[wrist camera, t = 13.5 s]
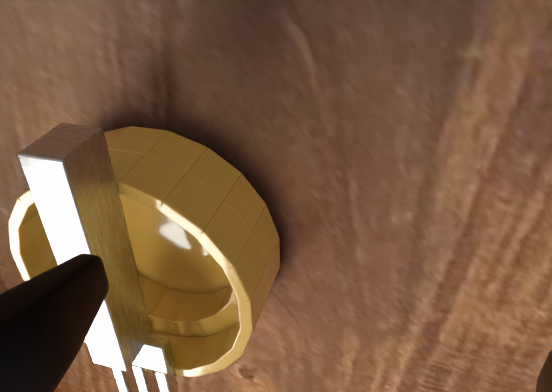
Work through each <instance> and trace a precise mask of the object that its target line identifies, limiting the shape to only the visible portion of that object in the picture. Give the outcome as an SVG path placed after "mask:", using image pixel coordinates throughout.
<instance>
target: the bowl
mask: <svg viewBox="0 0 552 392" xmlns="http://www.w3.org/2000/svg"><path fill="white" fill-rule="evenodd" d="M104 134H105V138H106V143H107V147H108V151H109V155H110V159H111V163H112V167H113V171H114V175H115V179H116V183H117V187H118V191H119V196H120V200H121V204H122V208H123V212H124V216H125V220H126V224H127V228H128V232H129V236H130V240H131V245H132V249H133V253H134V257H135V261H136V265H137V269H138V273H139V277H140V281H141V285H142V289H143V293H144V298H145V302H146V306H147V310H148V314H149V318H150V322H151V326H152V330H153V332H154V333H158V334H163V335H167V336H169V337H170V340H171V345H172V349H173V354H174V358H175V363H174V365H173V369H174V373H175V376H187V377H198V376H202V375H206V374H210V373H214V372H218V371H222V370H224V369H225V368H226V367H227V366H229V365H230V364H231V363H233V362H234V361H235V360H237V359H238V358H239V357H241V356H242V355H243V353H244V351H245V349H246V346H247V344H248V342H249V339H250V337H251V335H252V333H253V330H254V328H255V325H256V323H257V321H258V318H259V316H260V314H261V311H262V309H263V307H264V304H265V302H266V299H267V297H268V295H269V292H270V290H271V288H272V285H273V283H274V280H275V278H276V276H277V273H278V271H279V269H280V268H279V267H280V242H279V235H278V233H277V230H276V227H275V225H274V222H273V220H272V217H271V215H270V212H269V210H268V207H267V206H266V203H265V202H264V201H263V199H262V198H261V197H260V196H259V194H258V193H257V192H256V191H255V189H254V188H253V187H252V186H251V184H250V183H249V182H248V180H247V179H246V178H245V177H244V175H243V174H241V172H240V171H239V170H237V169H236V168H235V167H233V166H232V165H231V164H229V163H228V162H227V161H225V160H224V159H223V158H221V157H220V156H219V155H218V154H216V153H215V152H214V151H212V150H211V149H210V148H207V147H206V146H204V145H201V144H199V143H197V142H194V141H192V140H190V139H187V138H185V137H183V136H180V135H178V134H176V133H173V132H171V131H167V130H159V129H151V128H143V127H136V126H129V127H125V128H120V129H116V130H111V131H106V132H104ZM8 229H9V241H10V250H11V253H12V256H13V258H14V260H15V263H16V265H17V267H18V270H19V272H20V274H21V277H22V279H23V281H24V282H25V281H27V280H29V279H31V278H33V277H35V276H37V275H39V274H41V273H43V272H45V271H47V270H49V269H51V268H53V267H55V266H57V262H56V259H55V256H54V254H53V251H52V248H51V245H50V243H49V240H48V237H47V235H46V232H45V229H44V226H43V224H42V221H41V218H40V215H39V213H38V210H37V207H36V205H35V202H34V199H33V196H32V194H31V191H30V188H29V189H28V190H26V191H25V192H24V193H23V194H21V195H20V196H19V197H18V198H17V201H16V203H15V206H14V208H13V211H12V213H11V216H10V218H9V221H8ZM84 342H85V343H86V341H85V340H84ZM131 367H132V365H131ZM153 373H155V370H153Z"/></svg>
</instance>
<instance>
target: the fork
mask: <svg viewBox="0 0 552 392" xmlns="http://www.w3.org/2000/svg"><path fill="white" fill-rule="evenodd" d="M18 158H19V161H20V164H21V166H22V169H23V172H24V175H25V177H26V180H27V183H28V185H29V188H30V191H31V194H32V196H33V199H34V202H35V205H36V207H37V210H38V213H39V215H40V218H41V221H42V224H43V226H44V229H45V232H46V235H47V237H48V240H49V243H50V245H51V248H52V251H53V254H54V256H55V259H56V262H57V265H59V264H61V263H63V262H65V261H67V260H69V259H71V258H73V257H75V256H77V255H79V254H82V253H86V254H91V255H96V256H99V257H100V258H101V259H102V261H103V264H104V267H105V271H106V274H107V278H108V281H109V289H108V293H107V295H106V297H105V299H104V301H103V303H102V305H101V308H100V310H99V312H98V314H97V316H96V318H95V320H94V322H93V324H92V326H91V328H90V330H89V332H88V334H87V336H86V338H85V341H86V344H87V346H88V349H89V352H90V355H91V357H92V360H93V362H94V363H96V364H100V365H104V366H108V367H112V370H113V373H114V376H115V379H116V382H117V385H118V388H119V391H120V392H158V389H157V385H156V381H155V377H154V373H153V370H155V374H156V378H157V382H158V385H159V389H160V392H179V391H178V386H177V382H176V378H175V373H174V369H173V365H174V363H175V358H174V354H173V349H172V345H171V340H170V337H169V336H167V335H163V334H158V333H154V332H153V330H152V326H151V322H150V318H149V314H148V310H147V306H146V302H145V298H144V293H143V289H142V285H141V281H140V277H139V273H138V269H137V265H136V261H135V257H134V253H133V249H132V245H131V240H130V236H129V232H128V228H127V224H126V220H125V216H124V212H123V208H122V204H121V200H120V196H119V191H118V187H117V183H116V179H115V175H114V171H113V167H112V163H111V159H110V155H109V151H108V147H107V143H106V138H105V134H104V130H103V129H102V128H97V127H89V126H82V125H74V124H66V123H60V124H59V125H58V126H56V127H55V128H53V129H52V130H51V131H49V132H48V133H46V134H45V135H43V136H42V137H41V138H39V139H38V140H36V141H35V142H34V143H32V144H31V145H29V146H28V147H26V148H25V149H24V150H22V151H21V152H19V153H18ZM131 365H132V367H131ZM132 368H133V371H132ZM133 372H134V374H133ZM134 375H135V377H134ZM135 378H136V381H135ZM136 382H137V384H136ZM137 385H138V387H137ZM138 388H139V391H138Z"/></svg>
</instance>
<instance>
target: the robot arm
mask: <svg viewBox="0 0 552 392" xmlns="http://www.w3.org/2000/svg"><path fill="white" fill-rule="evenodd" d="M108 289H109V281H108V278H107V274H106V271H105V267H104V264H103V261H102V259H101V258H100V257H99V256H96V255H91V254H86V253H82V254H79V255H77V256H75V257H73V258H71V259H69V260H67V261H65V262H63V263H61V264H59V265H57V266H55V267H53V268H51V269H49V270H47V271H45V272H43V273H41V274H39V275H37V276H35V277H33V278H31V279H29V280H27V281H25V282H23V283H21V284H19V285H17V286H15V287H13V288H11V289H9V290H7V291H5V292H3V293H1V294H0V392H54V391H55V389H56V388H57V386H58V384H59V383H60V381H61V380H62V378H63V376H64V375H65V373H66V372H67V370H68V368H69V367H70V365H71V364H72V362H73V360H74V359H75V357H76V355H77V353H78V352H79V350H80V348H81V346H82V344H83V342H84V340H85V338H86V336H87V334H88V332H89V330H90V328H91V326H92V324H93V322H94V320H95V318H96V316H97V314H98V312H99V310H100V308H101V305H102V303H103V301H104V299H105V297H106V295H107V293H108ZM536 392H552V351H551V352H550V353H549V355H548V357H547V359H546V361H545V363H544V366H543V368H542V370H541V372H540V374H539V377H538V380H537V387H536Z"/></svg>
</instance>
